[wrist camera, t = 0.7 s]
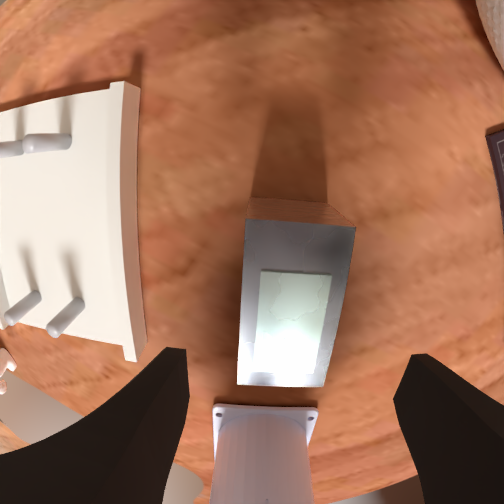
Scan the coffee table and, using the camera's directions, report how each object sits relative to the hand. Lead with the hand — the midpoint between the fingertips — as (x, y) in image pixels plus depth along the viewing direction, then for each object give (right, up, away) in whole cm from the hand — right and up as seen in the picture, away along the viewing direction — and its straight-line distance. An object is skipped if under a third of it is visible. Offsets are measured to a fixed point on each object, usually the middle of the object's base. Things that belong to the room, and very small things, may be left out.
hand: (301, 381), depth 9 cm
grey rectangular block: (0, +3, +9) cm, 10 cm away
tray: (-15, +6, +8) cm, 18 cm away
